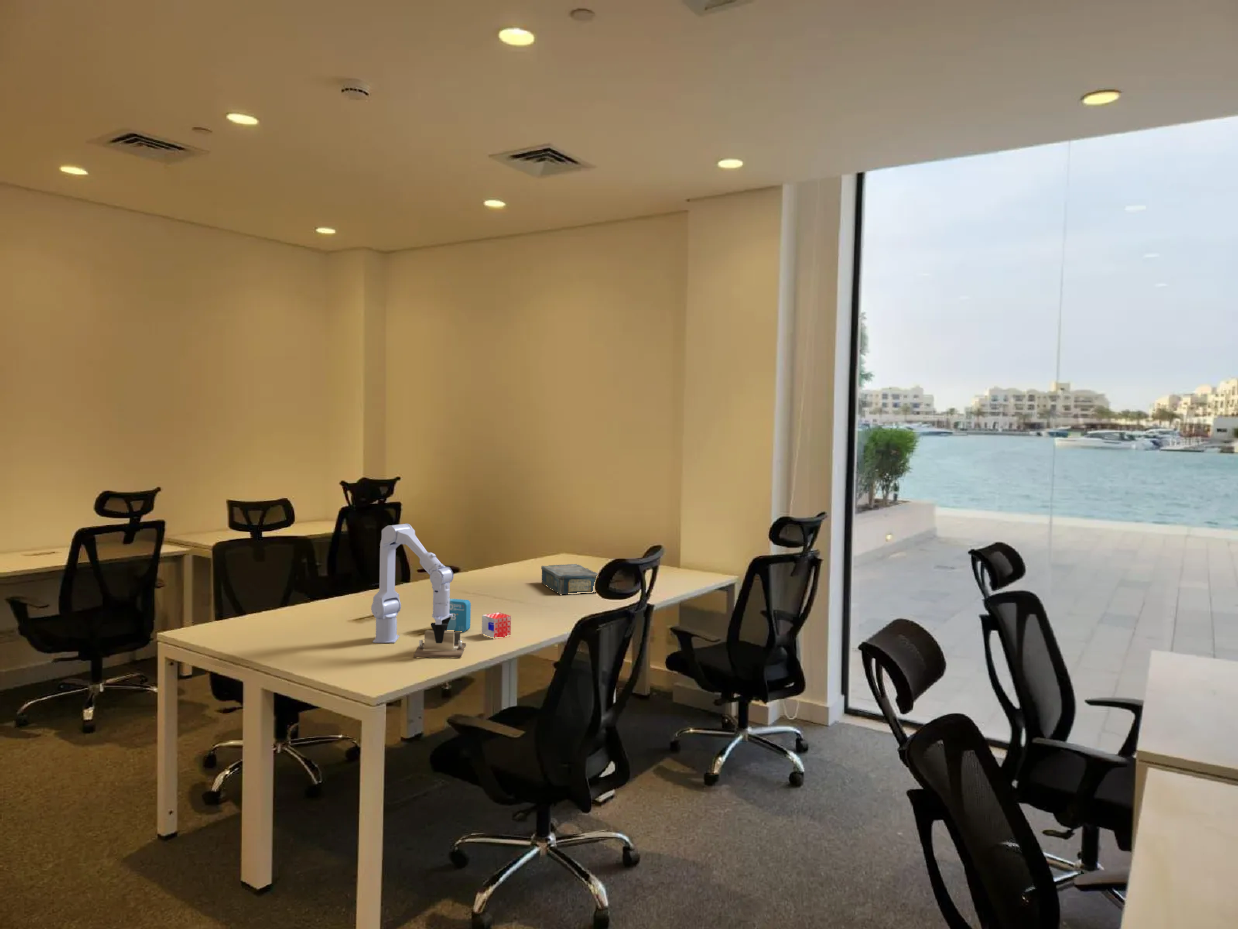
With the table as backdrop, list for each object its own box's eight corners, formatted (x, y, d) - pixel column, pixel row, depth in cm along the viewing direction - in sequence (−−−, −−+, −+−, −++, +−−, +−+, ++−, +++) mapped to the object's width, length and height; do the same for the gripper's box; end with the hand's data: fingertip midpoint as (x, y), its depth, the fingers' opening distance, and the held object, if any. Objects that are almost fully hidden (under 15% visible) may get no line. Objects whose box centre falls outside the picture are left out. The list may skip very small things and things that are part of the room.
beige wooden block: (425, 647, 289) (425, 630, 289) (454, 647, 290) (454, 630, 290) (424, 649, 286) (424, 632, 286) (453, 649, 287) (453, 632, 287)
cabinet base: (421, 645, 295) (421, 632, 295) (465, 645, 297) (466, 632, 296) (413, 658, 279) (413, 643, 279) (460, 658, 281) (461, 643, 280)
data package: (437, 630, 318) (437, 600, 317) (442, 628, 322) (442, 597, 322) (465, 632, 315) (466, 602, 315) (470, 630, 320) (471, 600, 319)
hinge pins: (419, 648, 288) (419, 640, 288) (461, 648, 289) (462, 640, 289) (419, 649, 287) (419, 640, 287) (461, 649, 288) (461, 641, 288)
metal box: (558, 596, 390) (558, 575, 390) (539, 584, 420) (540, 564, 420) (599, 594, 398) (600, 574, 398) (578, 582, 428) (579, 563, 428)
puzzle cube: (510, 636, 312) (511, 615, 312) (493, 639, 307) (494, 618, 306) (498, 632, 318) (498, 612, 318) (481, 635, 312) (481, 615, 312)
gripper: (450, 606, 280) (449, 645, 281) (455, 598, 295) (454, 635, 295) (429, 606, 280) (428, 645, 280) (435, 597, 294) (434, 635, 295)
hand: (440, 640), depth 288 cm, fingers open, 7 cm apart
